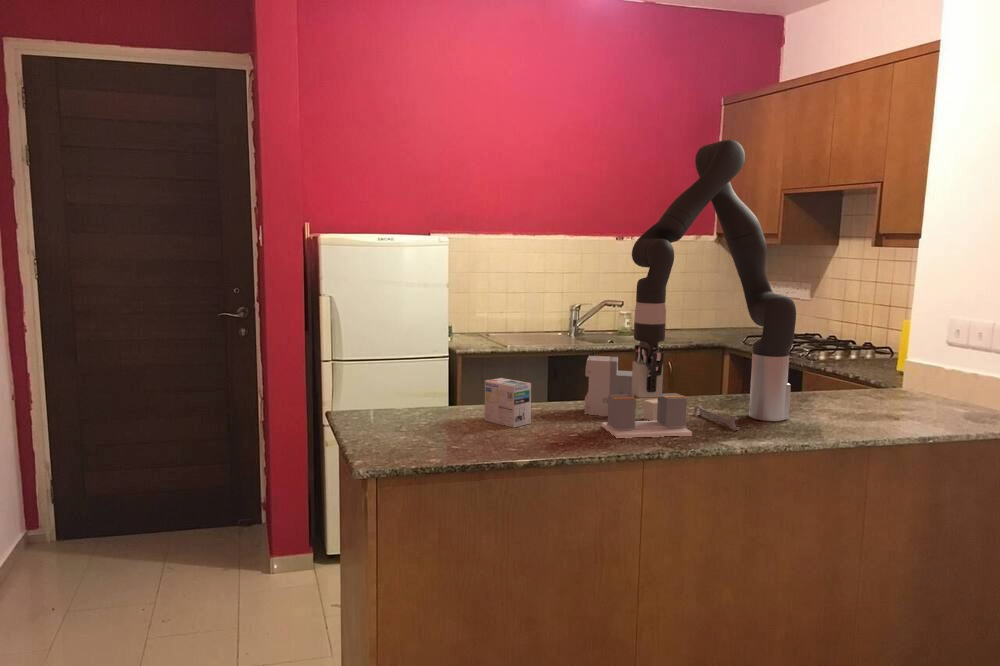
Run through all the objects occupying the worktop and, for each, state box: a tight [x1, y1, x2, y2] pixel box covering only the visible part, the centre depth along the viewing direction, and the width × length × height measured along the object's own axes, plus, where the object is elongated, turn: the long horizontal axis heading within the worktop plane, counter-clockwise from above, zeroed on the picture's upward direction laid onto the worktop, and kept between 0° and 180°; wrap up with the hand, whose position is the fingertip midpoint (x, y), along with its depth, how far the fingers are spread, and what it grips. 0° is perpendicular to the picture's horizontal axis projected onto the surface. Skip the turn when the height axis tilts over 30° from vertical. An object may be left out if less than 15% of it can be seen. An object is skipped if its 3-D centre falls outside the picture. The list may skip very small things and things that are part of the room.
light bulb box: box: [484, 377, 532, 428], centre depth 196 cm, size 11×7×11 cm, turn 47°
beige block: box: [643, 398, 658, 421], centre depth 201 cm, size 4×4×5 cm
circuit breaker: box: [584, 355, 634, 417], centre depth 207 cm, size 8×14×15 cm, turn 78°
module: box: [631, 360, 664, 398], centre depth 188 cm, size 6×5×8 cm
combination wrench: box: [693, 405, 741, 431], centre depth 199 cm, size 4×1×20 cm
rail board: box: [601, 392, 693, 439], centre depth 189 cm, size 19×12×9 cm, turn 100°
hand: (647, 389), depth 188 cm, fingers closed on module, 5 cm apart
